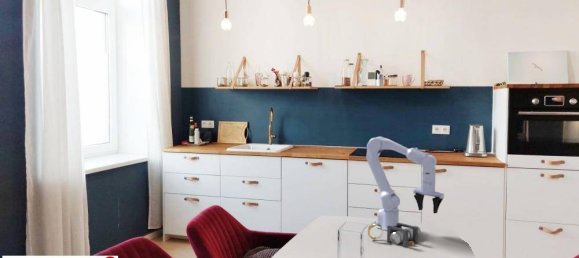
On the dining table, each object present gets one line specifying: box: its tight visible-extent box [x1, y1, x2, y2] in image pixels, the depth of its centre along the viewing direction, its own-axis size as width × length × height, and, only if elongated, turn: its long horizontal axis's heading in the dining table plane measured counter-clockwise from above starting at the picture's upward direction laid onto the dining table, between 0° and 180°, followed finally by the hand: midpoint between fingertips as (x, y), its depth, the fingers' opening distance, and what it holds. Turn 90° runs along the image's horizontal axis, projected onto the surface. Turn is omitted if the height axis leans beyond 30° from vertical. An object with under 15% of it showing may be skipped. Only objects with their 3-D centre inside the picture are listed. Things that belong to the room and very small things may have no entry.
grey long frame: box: [390, 225, 422, 245], centre depth 207 cm, size 16×5×5 cm, turn 132°
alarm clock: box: [367, 221, 384, 241], centre depth 208 cm, size 7×3×8 cm, turn 91°
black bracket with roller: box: [386, 222, 419, 248], centre depth 204 cm, size 10×8×7 cm
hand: (427, 211), depth 217 cm, fingers open, 7 cm apart
